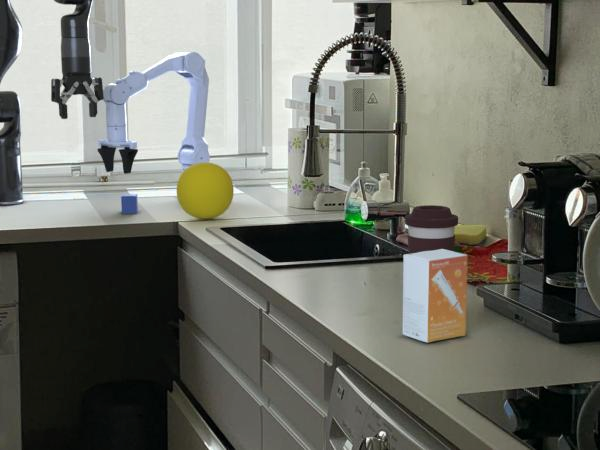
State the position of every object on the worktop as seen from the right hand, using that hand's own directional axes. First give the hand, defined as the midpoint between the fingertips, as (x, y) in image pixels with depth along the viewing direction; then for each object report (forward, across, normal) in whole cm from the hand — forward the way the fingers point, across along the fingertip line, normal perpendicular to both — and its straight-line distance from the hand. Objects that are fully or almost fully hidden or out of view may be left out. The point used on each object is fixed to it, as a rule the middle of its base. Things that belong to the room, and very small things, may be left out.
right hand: (118, 172), depth 304 cm
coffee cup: (+10, +128, -37) cm, 134 cm away
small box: (+10, +147, -66) cm, 162 cm away
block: (+10, +12, -7) cm, 17 cm away
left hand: (-18, +12, -24) cm, 32 cm away
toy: (+10, +38, -3) cm, 39 cm away
